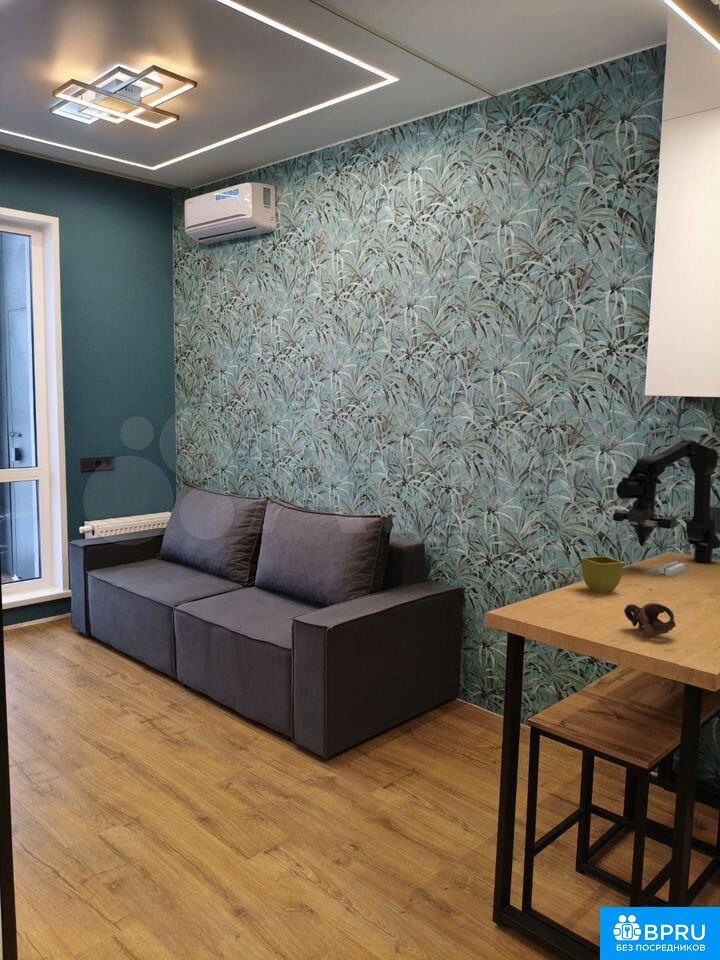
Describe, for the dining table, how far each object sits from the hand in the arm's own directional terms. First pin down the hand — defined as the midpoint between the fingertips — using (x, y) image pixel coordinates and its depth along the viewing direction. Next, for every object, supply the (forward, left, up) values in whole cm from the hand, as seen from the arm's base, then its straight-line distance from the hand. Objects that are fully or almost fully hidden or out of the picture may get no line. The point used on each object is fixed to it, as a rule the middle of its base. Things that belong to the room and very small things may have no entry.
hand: (642, 545), depth 241 cm
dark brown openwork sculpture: (+61, +28, -9) cm, 67 cm away
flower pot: (+33, +2, -8) cm, 34 cm away
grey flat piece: (-3, +8, -8) cm, 12 cm away
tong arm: (-3, +8, -7) cm, 11 cm away
